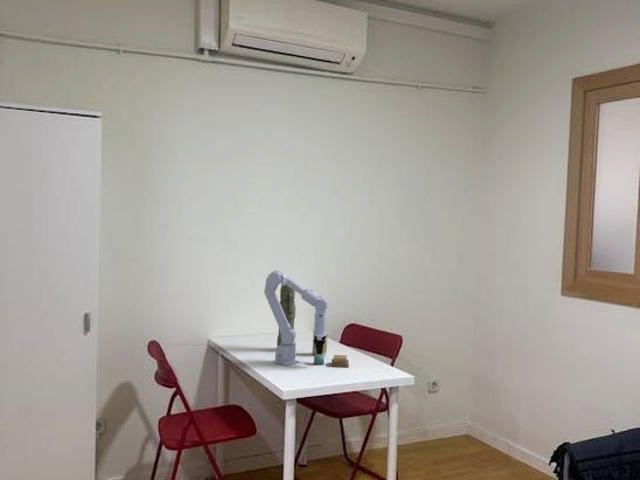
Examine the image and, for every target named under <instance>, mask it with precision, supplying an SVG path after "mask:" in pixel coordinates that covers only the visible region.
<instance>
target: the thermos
mask: <svg viewBox="0 0 640 480" xmlns="http://www.w3.org/2000/svg"><path fill="white" fill-rule="evenodd" d="M280 286H281V287H280V292H279V293H280V294H279V295H280V296H279V297H280V300H279V302H280V305H281V307H282V309H283V312H284V314H285V316H286V319H287V321H288V323H289V324H290V326H291V328H292V329H293V330H294V331H295V319H296V309H297V307H296V303H295V298H296V291H295V290H293V289H292V288H290V287H289V286H287V285H280ZM295 339H296V338H295ZM295 339H294V341H295ZM276 341H277V342H276V347H277V346H279V345H280V344H281V342H282V341H281V333H280V330H279V329H278V335H277V339H276Z"/></svg>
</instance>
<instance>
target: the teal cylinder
mask: <svg viewBox="0 0 640 480" xmlns="http://www.w3.org/2000/svg"><path fill="white" fill-rule="evenodd" d="M313 365H315V366H324V365H325V355H313Z"/></svg>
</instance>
